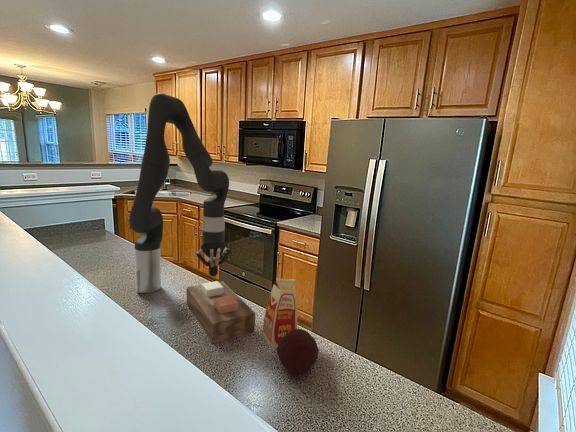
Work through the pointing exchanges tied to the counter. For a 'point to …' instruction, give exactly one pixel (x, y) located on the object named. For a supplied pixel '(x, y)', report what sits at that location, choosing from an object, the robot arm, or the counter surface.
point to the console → (220, 315)
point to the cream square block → (211, 289)
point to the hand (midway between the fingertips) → (213, 275)
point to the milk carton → (280, 311)
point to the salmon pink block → (225, 304)
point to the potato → (297, 352)
